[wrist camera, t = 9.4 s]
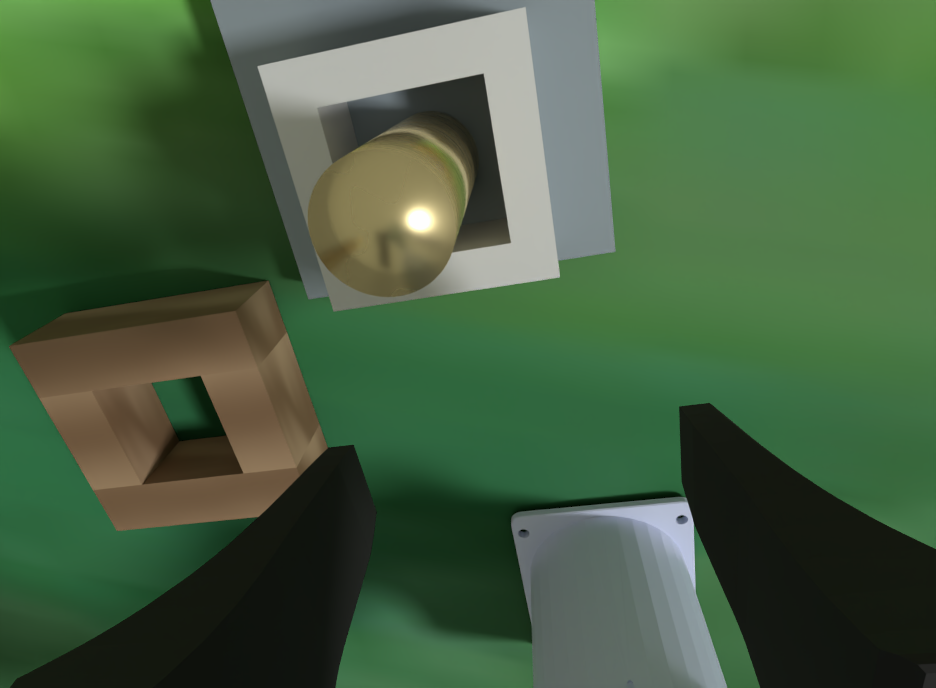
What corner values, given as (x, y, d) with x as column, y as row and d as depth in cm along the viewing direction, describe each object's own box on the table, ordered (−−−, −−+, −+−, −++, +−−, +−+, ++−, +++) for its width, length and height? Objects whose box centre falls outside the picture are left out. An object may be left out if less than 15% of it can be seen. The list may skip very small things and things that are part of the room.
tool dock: (609, 239, 21) (644, 309, 15) (320, 284, 23) (253, 364, 17) (554, -392, 14) (579, -695, 9) (148, -263, 16) (-63, -444, 10)
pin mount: (334, 465, 27) (313, 511, 24) (155, 485, 28) (117, 531, 25) (268, 280, 23) (235, 310, 20) (65, 313, 24) (8, 346, 21)
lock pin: (483, 202, 19) (465, 290, 12) (395, 212, 20) (326, 303, 13) (472, 105, 18) (444, 139, 11) (378, 117, 18) (290, 159, 11)
